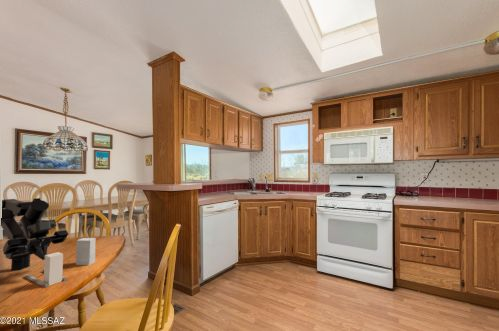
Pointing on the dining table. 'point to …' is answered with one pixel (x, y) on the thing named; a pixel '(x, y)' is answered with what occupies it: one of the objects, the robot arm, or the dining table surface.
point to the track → (40, 280)
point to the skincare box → (85, 251)
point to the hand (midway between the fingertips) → (44, 259)
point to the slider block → (53, 268)
